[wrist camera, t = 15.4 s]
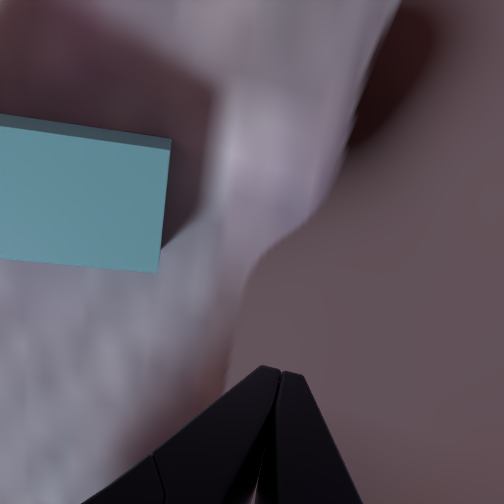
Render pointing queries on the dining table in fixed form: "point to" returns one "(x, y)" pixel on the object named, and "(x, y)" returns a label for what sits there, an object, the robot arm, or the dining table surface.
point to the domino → (81, 194)
